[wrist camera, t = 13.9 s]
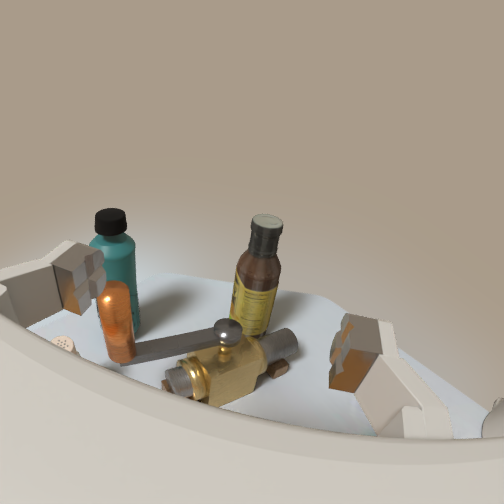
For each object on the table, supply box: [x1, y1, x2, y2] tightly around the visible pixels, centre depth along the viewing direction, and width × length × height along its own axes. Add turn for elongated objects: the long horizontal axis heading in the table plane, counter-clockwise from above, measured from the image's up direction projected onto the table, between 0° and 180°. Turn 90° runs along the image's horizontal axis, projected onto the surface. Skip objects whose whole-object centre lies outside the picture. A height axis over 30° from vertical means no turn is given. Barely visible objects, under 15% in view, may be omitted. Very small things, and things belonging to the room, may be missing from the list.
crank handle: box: [97, 280, 243, 367], centre depth 30 cm, size 15×3×9 cm, turn 118°
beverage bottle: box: [89, 208, 140, 333], centre depth 40 cm, size 6×7×20 cm
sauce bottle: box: [229, 214, 283, 339], centre depth 46 cm, size 6×6×20 cm
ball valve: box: [161, 328, 298, 407], centre depth 39 cm, size 18×6×10 cm, turn 124°
